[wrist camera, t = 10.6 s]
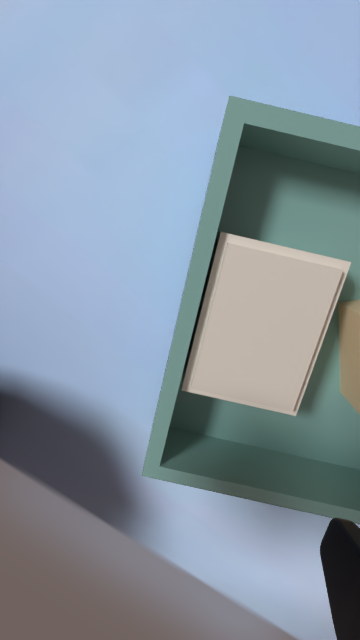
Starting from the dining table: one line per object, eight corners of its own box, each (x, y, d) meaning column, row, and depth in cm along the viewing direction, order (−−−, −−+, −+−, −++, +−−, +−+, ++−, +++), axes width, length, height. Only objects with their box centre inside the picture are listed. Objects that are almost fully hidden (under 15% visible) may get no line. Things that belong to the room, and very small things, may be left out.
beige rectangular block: (183, 366, 20) (181, 393, 17) (217, 230, 18) (221, 231, 15) (281, 388, 20) (297, 420, 17) (326, 256, 18) (355, 263, 15)
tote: (152, 427, 22) (141, 475, 18) (221, 127, 18) (229, 95, 13) (388, 479, 23) (433, 540, 18) (521, 198, 18) (626, 190, 13)
